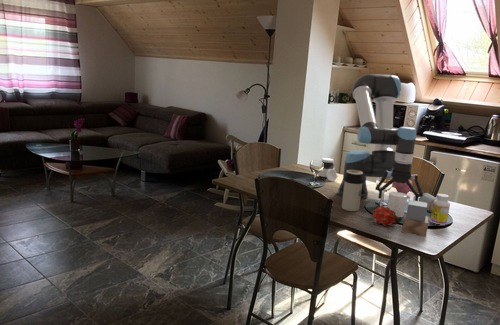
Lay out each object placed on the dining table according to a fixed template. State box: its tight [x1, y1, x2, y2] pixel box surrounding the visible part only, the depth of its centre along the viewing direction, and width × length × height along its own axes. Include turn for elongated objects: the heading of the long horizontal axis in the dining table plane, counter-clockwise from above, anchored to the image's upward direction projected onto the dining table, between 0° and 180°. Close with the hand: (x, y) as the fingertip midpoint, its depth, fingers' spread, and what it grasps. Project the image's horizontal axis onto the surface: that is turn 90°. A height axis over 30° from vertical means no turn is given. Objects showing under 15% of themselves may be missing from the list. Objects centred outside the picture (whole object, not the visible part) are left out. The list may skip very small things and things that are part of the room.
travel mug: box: [341, 170, 363, 212], centre depth 193 cm, size 8×8×18 cm
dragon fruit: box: [371, 205, 401, 228], centre depth 176 cm, size 8×8×12 cm
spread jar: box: [317, 157, 338, 182], centre depth 247 cm, size 12×11×12 cm
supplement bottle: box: [429, 193, 451, 226], centre depth 182 cm, size 7×7×13 cm
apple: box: [393, 179, 414, 195], centre depth 224 cm, size 10×9×10 cm
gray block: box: [406, 199, 428, 222], centre depth 170 cm, size 7×7×6 cm
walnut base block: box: [401, 212, 429, 238], centre depth 171 cm, size 9×9×6 cm
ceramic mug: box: [418, 192, 437, 213], centre depth 200 cm, size 11×8×8 cm
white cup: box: [387, 191, 408, 218], centre depth 189 cm, size 8×8×10 cm
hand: (396, 208), depth 189 cm, fingers open, 13 cm apart
